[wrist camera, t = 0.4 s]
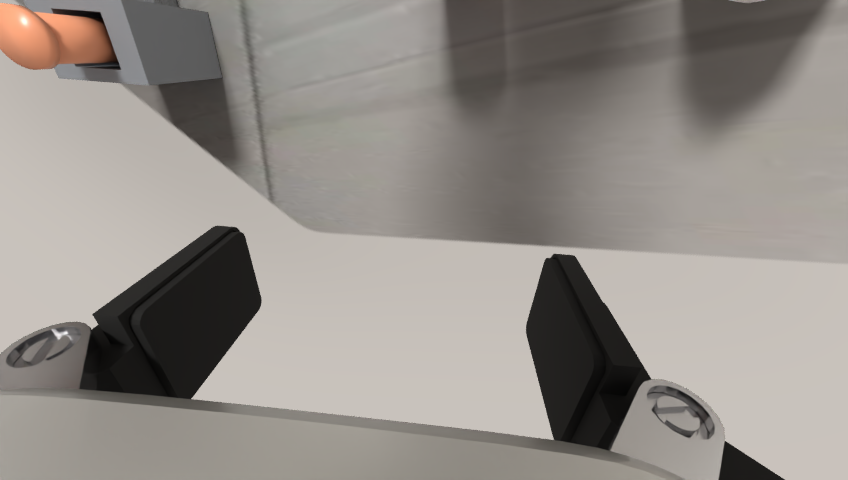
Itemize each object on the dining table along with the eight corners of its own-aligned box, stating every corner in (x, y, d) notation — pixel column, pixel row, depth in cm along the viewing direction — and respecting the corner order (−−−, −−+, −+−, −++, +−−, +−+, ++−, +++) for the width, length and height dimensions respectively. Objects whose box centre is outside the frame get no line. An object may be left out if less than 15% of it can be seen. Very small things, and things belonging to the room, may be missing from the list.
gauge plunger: (78, 12, 27) (-27, 1, 21) (122, 15, 27) (29, 5, 21) (98, 64, 29) (7, 67, 23) (140, 67, 29) (58, 71, 23)
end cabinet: (132, 7, 33) (19, -10, 25) (207, 12, 33) (120, -3, 24) (152, 72, 36) (58, 78, 28) (222, 77, 36) (149, 85, 27)
